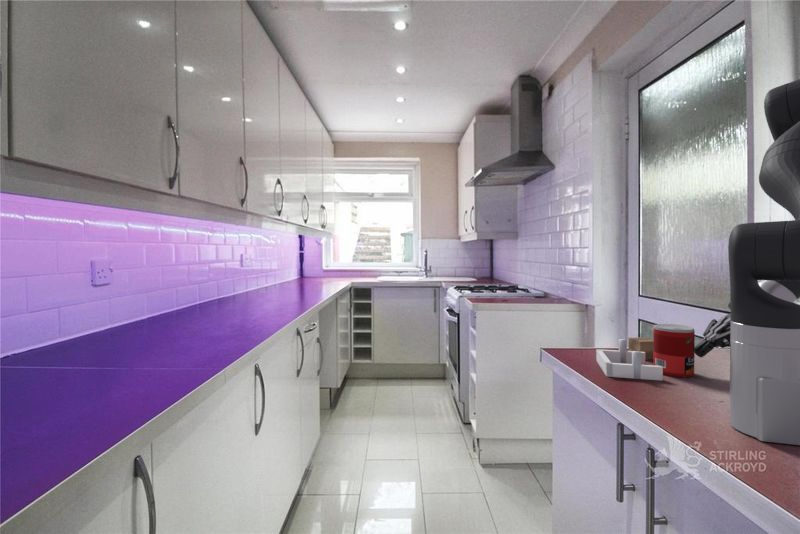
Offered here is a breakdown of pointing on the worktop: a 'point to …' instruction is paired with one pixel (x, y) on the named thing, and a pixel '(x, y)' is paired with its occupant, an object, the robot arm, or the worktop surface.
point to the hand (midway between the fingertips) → (695, 353)
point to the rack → (627, 370)
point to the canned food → (674, 349)
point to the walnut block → (641, 346)
